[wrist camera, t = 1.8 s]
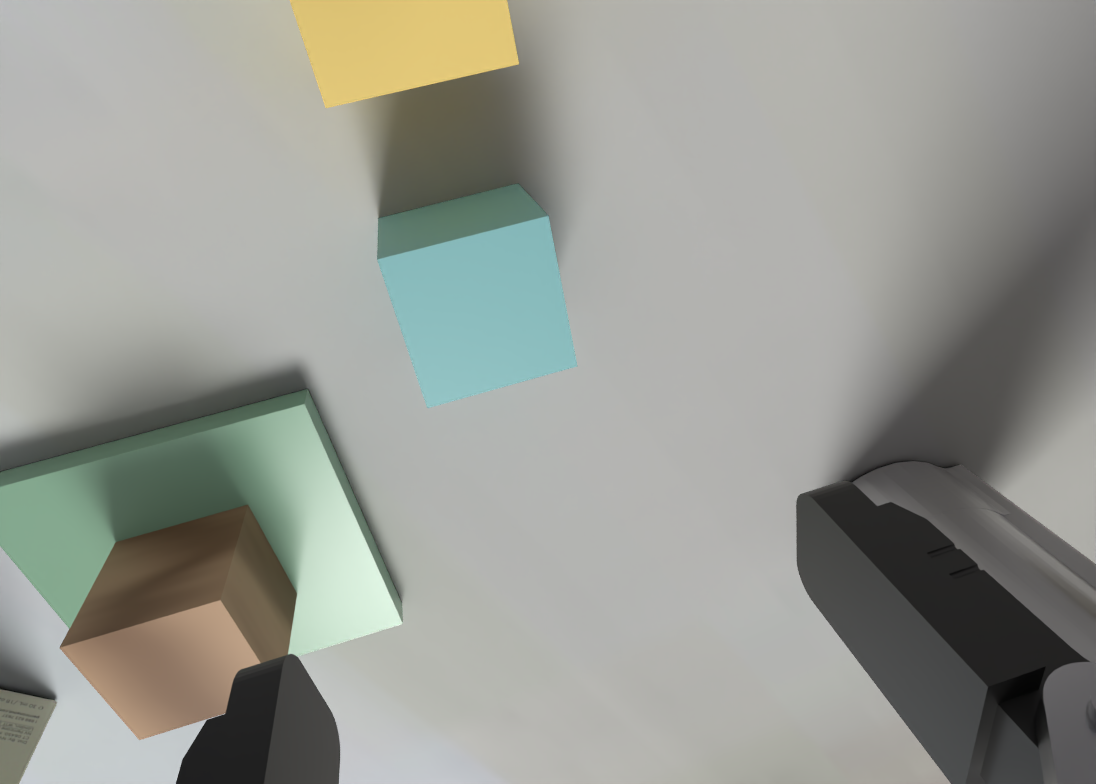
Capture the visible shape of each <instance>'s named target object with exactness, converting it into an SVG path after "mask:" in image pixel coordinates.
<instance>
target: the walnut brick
mask: <svg viewBox="0 0 1096 784" xmlns="http://www.w3.org/2000/svg"><path fill="white" fill-rule="evenodd" d="M296 599H297V592H296V591H295V589H294V587H293V585H292V583H291V582H290V580H289V578H288V576H287V574H286V572H285V571H284V569H283V567H282V565H281V563H280V562H279V560H278V558H277V556H276V554H275V552H274V551H273V549H272V547H271V545H270V543H269V542H268V540H267V538H266V536H265V534H264V532H263V531H262V529H261V527H260V525H259V523H258V522H257V520H256V518H255V516H254V514H253V512H252V511H251V509H250V507H249V505H244V506H241V507H237V508H234V509H230V510H227V511H223V512H220V513H216V514H213V515H209V516H206V517H202V518H199V519H195V520H192V521H188V522H185V523H181V524H178V525H174V526H171V527H167V528H164V529H160V530H157V531H153V532H150V533H146V534H142V535H139V536H135V537H132V538H128V539H125V540H121V541H118V542H115V544H114V546H113V548H112V550H111V552H110V554H109V556H108V557H107V559H106V561H105V563H104V565H103V567H102V569H101V571H100V573H99V574H98V576H97V578H96V580H95V582H94V584H93V586H92V588H91V590H90V591H89V593H88V595H87V597H86V599H85V601H84V603H83V605H82V606H81V608H80V610H79V612H78V614H77V616H76V618H75V620H74V622H73V623H72V625H71V627H70V629H69V631H68V633H67V635H66V637H65V639H64V640H63V642H62V644H61V646H60V649H61V650H62V651H63V652H64V654H65V655H66V656H67V657H68V658H69V659H70V661H71V662H72V663H73V664H74V665H75V666H76V667H77V669H78V670H79V671H80V672H81V673H82V674H83V676H84V677H85V678H86V679H87V680H88V681H89V682H90V684H91V685H92V686H93V687H94V688H95V689H96V691H97V692H98V693H99V694H100V695H101V696H102V697H103V699H104V700H105V701H106V702H107V703H108V704H109V705H110V707H111V708H112V709H113V710H114V711H115V712H116V714H117V715H118V716H119V717H120V718H121V719H122V720H123V722H124V723H125V724H126V725H127V726H128V727H129V729H130V730H131V731H132V732H133V733H134V734H135V735H136V737H137V738H138V739H139V740H141V739H145V738H148V737H151V736H154V735H157V734H160V733H164V732H167V731H170V730H173V729H176V728H180V727H183V726H186V725H189V724H192V723H196V722H199V721H202V720H205V719H208V718H212V717H215V716H218V715H221V714H224V713H226V709H227V705H228V700H229V696H230V692H231V687H232V683H233V680H234V677H235V675H236V674H237V672H238V671H239V670H241V669H244V668H247V667H250V666H253V665H257V664H260V663H263V662H266V661H269V660H272V659H276V658H279V657H282V656H285V655H288V650H289V644H290V637H291V631H292V625H293V618H294V612H295V605H296Z"/></svg>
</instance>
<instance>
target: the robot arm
mask: <svg viewBox="0 0 1096 784" xmlns="http://www.w3.org/2000/svg"><path fill="white" fill-rule="evenodd" d="M796 513H797V566H798V571H799V575H800V578H801V580H802V583H803V585H804V587H805V589H806V591H807V593H808V595H809V597H810V598H811V600H812V601H813V603H814V604H815V605H816V606H817V608H818V609H819V610H820V612H821V613H822V614H823V616H824V617H825V618H826V620H827V621H828V622H829V624H830V625H831V626H832V627H833V629H834V630H835V631H836V633H837V634H838V635H839V637H840V638H841V639H842V641H843V642H844V643H845V645H846V646H847V647H848V649H849V650H850V651H851V652H852V654H853V655H854V656H855V658H856V659H857V660H858V662H859V663H860V664H861V666H862V667H863V668H864V670H865V671H866V672H867V673H868V675H869V676H870V677H871V679H872V680H873V681H874V683H875V684H876V685H877V687H878V688H879V689H880V691H881V692H882V693H883V695H884V696H885V697H886V698H887V700H888V701H889V702H890V704H891V705H892V706H893V708H894V709H895V710H896V712H897V713H898V714H899V716H900V717H901V718H902V720H903V721H904V722H905V723H906V725H907V726H908V727H909V729H910V730H911V731H912V733H913V734H914V735H915V737H916V738H917V739H918V741H919V742H920V743H921V744H922V746H923V747H924V748H925V750H926V751H927V752H928V754H929V755H930V756H931V758H932V759H933V760H934V762H935V763H936V764H937V766H938V767H939V768H940V769H941V771H942V772H943V773H944V775H945V776H946V777H947V779H948V780H949V781H950V783H951V784H1096V564H1095V563H1094V562H1092V561H1091V560H1090V559H1088V558H1087V557H1086V556H1084V555H1083V554H1081V553H1080V552H1079V551H1077V550H1076V549H1075V548H1073V547H1072V546H1071V545H1069V544H1068V543H1067V542H1065V541H1064V540H1063V539H1061V538H1060V537H1059V536H1057V535H1056V534H1054V533H1053V532H1052V531H1050V530H1049V529H1048V528H1046V527H1045V526H1044V525H1042V524H1041V523H1040V522H1038V521H1037V520H1036V519H1034V518H1033V517H1031V516H1030V515H1029V514H1027V513H1026V512H1025V511H1023V510H1022V509H1021V508H1019V507H1018V506H1017V505H1015V504H1014V503H1013V502H1011V501H1010V500H1009V499H1007V498H1006V497H1004V496H1003V495H1002V494H1000V493H999V492H998V491H996V490H995V489H994V488H992V487H991V486H990V485H988V484H987V483H986V482H984V481H983V480H981V479H980V478H979V477H977V476H976V475H975V474H973V473H972V472H971V471H969V470H968V469H967V468H965V467H964V466H963V465H957V466H954V467H951V468H941V467H938V466H935V465H933V464H930V463H927V462H918V461H908V462H899V463H894V464H891V465H887V466H884V467H881V468H878V469H876V470H874V471H871V472H869V473H867V474H865V475H863V476H861V477H860V478H858V479H857V480H855V481H854V482H852V483H851V482H849V481H841V482H837V483H834V484H831V485H828V486H825V487H822V488H819V489H815V490H812V491H809V492H806V493H803V494H800V495H799V496H798V498H797V505H796ZM339 767H340V742H339V735H338V730H337V726H336V722H335V719H334V717H333V714H332V712H331V710H330V709H329V707H328V705H327V704H326V702H325V701H324V699H323V697H322V696H321V694H320V692H319V691H318V689H317V687H316V686H315V684H314V683H313V681H312V679H311V678H310V676H309V674H308V673H307V671H306V669H305V668H304V666H303V665H302V663H301V661H300V660H299V658H298V657H297V656H296V655H294V654H288V655H285V656H282V657H279V658H276V659H272V660H269V661H266V662H263V663H260V664H257V665H253V666H250V667H247V668H244V669H241V670H239V671H238V672H237V674H236V675H235V677H234V680H233V683H232V687H231V692H230V696H229V700H228V705H227V709H226V713H225V714H224V715H221V716H218V717H215V718H212V719H208V720H207V721H206V722H205V724H204V726H203V727H202V729H201V731H200V732H199V734H198V735H197V737H196V739H195V740H194V742H193V743H192V745H191V747H190V748H189V750H188V752H187V753H186V755H185V756H184V758H183V760H182V764H181V767H180V771H179V774H178V778H177V782H176V784H339Z"/></svg>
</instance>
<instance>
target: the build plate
mask: <svg viewBox="0 0 1096 784" xmlns="http://www.w3.org/2000/svg"><path fill="white" fill-rule="evenodd" d="M244 505H249V507H250V509H251V511H252V512H253V514H254V516H255V518H256V520H257V522H258V523H259V525H260V527H261V529H262V531H263V532H264V534H265V536H266V538H267V540H268V542H269V543H270V545H271V547H272V549H273V551H274V552H275V554H276V556H277V558H278V560H279V562H280V563H281V565H282V567H283V569H284V571H285V572H286V574H287V576H288V578H289V580H290V582H291V583H292V585H293V587H294V589H295V591H296V592H297V599H296V605H295V612H294V618H293V625H292V631H291V637H290V644H289V650H288V654H294V655H296V656H300V655H303V654H307V653H310V652H313V651H316V650H320V649H323V648H326V647H329V646H333V645H336V644H339V643H342V642H346V641H349V640H352V639H355V638H359V637H362V636H365V635H368V634H372V633H375V632H378V631H381V630H385V629H388V628H391V627H394V626H397V625H401V624H403V616H402V603H401V601H400V598H399V596H398V594H397V591H396V589H395V587H394V585H393V582H392V580H391V578H390V576H389V573H388V571H387V569H386V566H385V564H384V562H383V560H382V557H381V555H380V553H379V550H378V548H377V546H376V544H375V541H374V539H373V537H372V534H371V532H370V530H369V528H368V525H367V523H366V521H365V518H364V516H363V514H362V512H361V509H360V507H359V505H358V503H357V500H356V498H355V496H354V493H353V491H352V489H351V487H350V484H349V482H348V480H347V477H346V475H345V473H344V471H343V468H342V466H341V464H340V461H339V459H338V457H337V455H336V452H335V450H334V448H333V445H332V443H331V441H330V439H329V436H328V434H327V432H326V430H325V427H324V425H323V423H322V420H321V418H320V416H319V414H318V411H317V409H316V407H315V404H314V402H313V400H312V398H311V395H310V393H309V391H308V389H306V390H302V391H298V392H295V393H291V394H287V395H283V396H280V397H276V398H272V399H269V400H265V401H261V402H257V403H254V404H250V405H246V406H243V407H239V408H235V409H232V410H228V411H224V412H220V413H217V414H213V415H209V416H206V417H202V418H198V419H195V420H191V421H187V422H183V423H180V424H176V425H172V426H169V427H165V428H161V429H157V430H154V431H150V432H146V433H143V434H139V435H135V436H132V437H128V438H124V439H120V440H117V441H113V442H109V443H106V444H102V445H98V446H94V447H91V448H87V449H83V450H80V451H76V452H72V453H69V454H65V455H61V456H57V457H54V458H50V459H46V460H43V461H39V462H35V463H32V464H28V465H24V466H20V467H17V468H13V469H9V470H6V471H2V472H0V546H1V547H2V549H3V550H4V551H5V552H6V553H7V555H8V556H9V557H10V558H11V559H12V561H13V562H14V563H15V564H16V565H17V567H18V568H19V569H20V570H21V571H22V573H23V574H24V575H25V576H26V577H27V579H28V580H29V581H30V582H31V583H32V585H33V586H34V587H35V588H36V589H37V591H38V592H39V593H40V594H41V595H42V597H43V598H44V599H45V600H46V601H47V602H48V604H49V605H50V606H51V607H52V608H53V610H54V611H55V612H56V613H57V614H58V616H59V617H60V618H61V619H62V620H63V622H64V623H65V624H66V625H67V626H68V628H69V629H70V627H71V625H72V623H73V622H74V620H75V618H76V616H77V614H78V612H79V610H80V608H81V606H82V605H83V603H84V601H85V599H86V597H87V595H88V593H89V591H90V590H91V588H92V586H93V584H94V582H95V580H96V578H97V576H98V574H99V573H100V571H101V569H102V567H103V565H104V563H105V561H106V559H107V557H108V556H109V554H110V552H111V550H112V548H113V546H114V544H115V542H118V541H121V540H125V539H128V538H132V537H135V536H139V535H142V534H146V533H150V532H153V531H157V530H160V529H164V528H167V527H171V526H174V525H178V524H181V523H185V522H188V521H192V520H195V519H199V518H202V517H206V516H209V515H213V514H216V513H220V512H223V511H227V510H230V509H234V508H237V507H241V506H244Z"/></svg>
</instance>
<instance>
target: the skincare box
mask: <svg viewBox="0 0 1096 784" xmlns="http://www.w3.org/2000/svg"><path fill="white" fill-rule="evenodd" d="M56 704H57V702H56V701H55V700H50V699H44V698H39V697H35V696H31V695H25V694H21V693H16V692H12V691H7V690H2V689H0V784H19V783H20V781H21V778H22V776H23V774H24V772H25V770H26V768H27V766H28V764H29V761H30V759H31V757H32V755H33V753H34V751H35V749H36V746H37V744H38V742H39V740H40V738H41V736H42V734H43V732H44V729H45V727H46V725H47V723H48V721H49V719H50V717H51V715H52V713H53V711H54V709H55V707H56Z"/></svg>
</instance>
